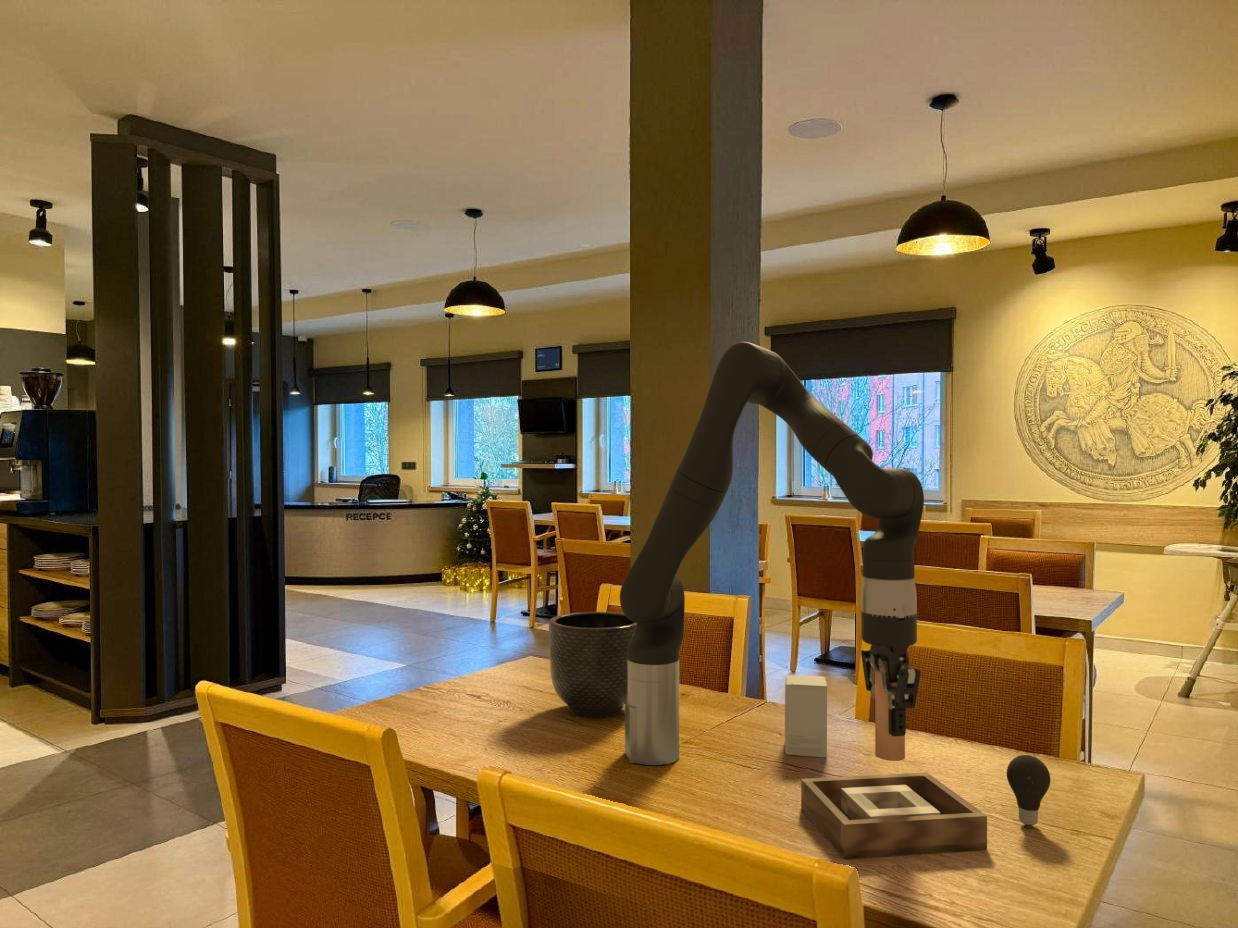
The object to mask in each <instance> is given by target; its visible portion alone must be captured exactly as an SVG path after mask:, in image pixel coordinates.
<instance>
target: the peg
mask: <svg viewBox="0 0 1238 928" xmlns="http://www.w3.org/2000/svg"><path fill="white" fill-rule="evenodd" d="M890 685H891V686H897V683H890ZM895 695H896V691H895V692H894V697H895ZM888 708H889V705H888V697H887V692H885V691H884V690H883V684H882V675H881V671H880V670H875V723H874V731H875V732H874V735H875V736H874V739H875V740H874V743H875V744H874V749H875V751H874V754H875V755H874V756H875V757H876V758H878V759H881V760H884V761H889V762H891V761H892V762H898V761H903V760H905V758H906V734H905V735H904V736H892V735H890V734H889V722H888Z"/></svg>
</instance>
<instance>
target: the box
mask: <svg viewBox="0 0 1238 928" xmlns="http://www.w3.org/2000/svg"><path fill="white" fill-rule="evenodd" d="M800 782H801V783H800V784H801V785H800V787H801V788H800V789H801V790H800V793H801V794H800V798H801V799H800V801H801V802H800V803H801V804H800V809H801V810H802V812H803V813H804V814H805V815H806V817H808V818H807V819H809V820H810V821H811V822H812V823H813V825H814V826H815V827H816V828H817V829H818V831H819V832H820V833H821V834H822V835H823V836H824V837H825V838H826V840H827V841H828V842H829V843H830V844H831V846H832V847H833V848H834V849H835V850H836V851H837V852H838V854H840V856H841V857H842V858H843V859H844V860H850V859H851V860H853V859H867V858H882V857H883V858H884V857H898V856H911V855H928V854H941V853H958V852H959V853H960V852H969V851H971V852H972V851H973V852H974V851H986V850H988V815H986V814H985V813H984V812H983V811H981V810H979V809H978V808H977V807H975V806H974V805H973V804H971V803H970V802H969V801H967V800H966V799H965V798H963V797H961V795H959V794H958V793H956V791H954V790H952V789H951V788H950V787H948V786H947V785H945V784H944V783H942V782H941V781H940V780H939V779H937V778H936V777H934V776H933V775H932V774H930V773H929V772H909V773H908V772H907V773H892V774H889V773H888V774H870V775H852V776H851V775H850V776H832V777H831V776H829V777H814V778H801V780H800Z"/></svg>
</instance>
